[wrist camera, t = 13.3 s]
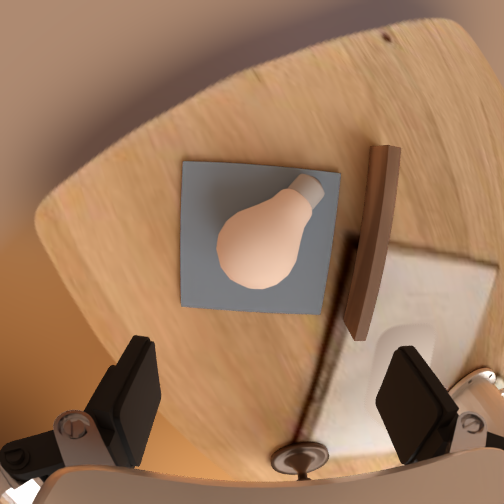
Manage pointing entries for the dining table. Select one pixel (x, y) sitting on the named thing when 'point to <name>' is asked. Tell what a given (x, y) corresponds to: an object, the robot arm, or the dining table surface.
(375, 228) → the low wall
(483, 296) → the dining table surface
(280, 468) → the candlestick
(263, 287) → the light bulb
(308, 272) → the mat
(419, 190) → the dining table surface
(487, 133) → the dining table surface
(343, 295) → the dining table surface
